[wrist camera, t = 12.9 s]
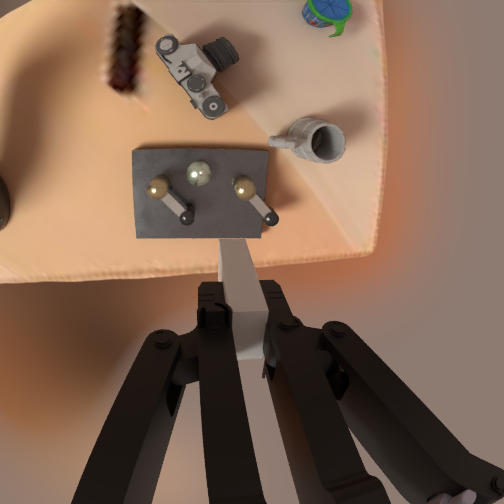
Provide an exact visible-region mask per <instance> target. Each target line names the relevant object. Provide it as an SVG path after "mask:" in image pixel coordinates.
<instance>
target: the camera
mask: <svg viewBox="0 0 504 504" xmlns="http://www.w3.org/2000/svg"><path fill="white" fill-rule="evenodd" d="M155 50H156V53H157V55H158V56H159V57H160V59H161V60H162V61H163V62H164V64H165V65H166V66H167V68H168V69H169V72H170V74H171V75H172V76H173V77H174V79H175V80H176V81H177V83H178V84H179V85H181V86H182V87H183V88H184V90H185V91H186V92H187V94H188V95H189V96H190V98H191V99H192V100H190V102H191V104H192V105H193V106H194V108H195V109H196V108H197V107H198V109H199V110H200V111H201V113H202V114H203V115H204V117H205V118H207V119H210V120H214V119H216V118H218V117H219V116H221V115H222V114H224V113H226V112H227V111H228V106H227V105H228V104H227V105H226V103H225V102H224V101H223V99H222V98H221V97H220V95H219V93H218V91H216V90H215V88H214V87H213V86H214V85H213V84H212V82H213V80H214V79H215V76H216V74H217V73H216V72H217V71H219V72H223V71H224V70H225V69H226V68H228V67H229V66H230V65H232V64H235V63H236V62H238V61H239V56H238V54H237V52H236V50H235V49H234V47H233V46H232V45H231V43H230V42H229V41H228V40H227V39H226V38H224V37H221V38H219V39H216V41H214V42H213V43H209V44H208V45H204V46H203V50H201V49H200V47H199V46H198V45H197V44H196V43H195V44H187V45H181V44H180V43H179V41H178V40H177V39H176V38H175V37H174V35H173V34H167V35H166V36H164V37H162V38H160V39H159V40H158V41H157V42H156V44H155Z"/></svg>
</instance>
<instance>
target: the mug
mask: <svg viewBox="0 0 504 504" xmlns="http://www.w3.org/2000/svg"><path fill="white" fill-rule="evenodd" d="M317 129H319V130H320V131H319V133H318V136H317V139H316V142H315V144H314V147H313V150H312V146H311V139H312V136H313V133H314V132H315V131H316V130H317ZM320 142H321V143H320ZM319 143H320V145H319V147H318V148H317V149H316V150H315V148H316V147H317V146H318V144H319ZM268 144H269V145H270V146H271V147H279V148H289V149H291V150H292V152H293V153H294V154H295V155H296V156H298V157H300V158H303V159H307V160H309V161H313V162H317V163H332V162H335V161H337V160H338V159H340V158H341V157H342V155H343V154H344V151H345V144H346V138H345V135H344V133H343V131H342V130H341V129H340V128H339V127H338V126H337V125H335V124H332V123H330V122H328V121H325V120H318V119H315V118H310V117H306V118H301V119H299V120H297V121H296V122H295V123H293V125H292V126H291V128H290V129H289V131H288V136H270V137H269V138H268ZM314 150H315V151H314ZM313 151H314V152H313Z"/></svg>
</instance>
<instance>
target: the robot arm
mask: <svg viewBox="0 0 504 504" xmlns="http://www.w3.org/2000/svg"><path fill="white" fill-rule="evenodd" d="M9 210H10V204H9V196H8V192H7V189H6V186H5V184H4V182H3V180H2V178H1V177H0V231H1V230H2V229H3V228H4V227H5V225H6V223H7V221H8V217H9ZM263 353H264V356H265V362H264V368H263V373H262V378H265V374H266V377H267V381H268V385H269V389H270V393H271V397H272V401H273V405H274V409H275V413H276V417H277V421H278V424H279V428H280V432H281V436H282V440H283V444H284V447H285V451H286V455H287V459H288V462H289V466H290V470H291V474H292V477H293V481H294V485H295V488H296V492H297V495H298V499H299V503H300V504H391V502H390V500H389V498H388V495H387V493H386V490H385V488H384V486H383V484H382V483H381V481H380V480H379V479H378V478H377V477H375V476H371V475H369V474H368V473H367V471H366V469H365V467H364V465H363V462H362V460H361V457H360V455H359V453H358V450H357V448H356V445H355V443H354V440H353V438H352V436H351V433H350V431H349V429H350V430H351V431H352V433H353V434H354V435H355V437H356V438H357V439H358V441H359V442H360V443H361V444H362V446H363V447H364V448H365V450H366V451H367V452H368V454H369V455H370V456H371V457H372V459H373V460H374V461H375V463H376V464H377V465H378V466H379V468H380V469H381V470H382V471H383V473H384V474H385V475H386V476H387V478H388V479H389V480H390V481H391V483H392V484H393V485H394V486H395V488H396V489H397V490H398V491H399V493H400V494H401V495H402V496H403V497H404V498H405V499H406V500H407V501H408V502H409V503H410V504H493V503H495V502H496V501H498V500H499V499H502V498H503V497H504V470H503V469H501V468H499V467H497V466H495V465H492V464H490V463H488V462H486V461H484V460H482V459H480V458H478V457H476V456H474V455H472V454H470V453H469V452H468V450H466V448H465V447H464V446H463V445H462V444H461V443H460V442H459V441H458V440H457V438H456V437H455V436H454V435H453V434H452V433H451V432H450V431H449V430H448V429H447V428H446V427H445V426H444V424H443V423H442V422H441V421H440V420H439V419H438V418H437V417H436V416H435V415H434V414H433V413H432V412H431V411H430V410H429V409H428V408H427V406H426V405H425V404H424V403H423V402H422V401H421V400H420V399H419V398H418V397H417V396H416V395H415V394H414V393H413V392H412V391H411V390H410V389H409V387H408V386H407V385H406V384H405V383H404V382H403V381H402V380H401V379H400V378H399V377H398V376H397V375H396V374H395V373H394V372H393V371H392V370H391V369H390V368H389V367H388V366H387V365H386V364H385V363H384V362H383V361H382V359H381V358H379V356H378V355H377V354H376V353H375V352H374V351H373V350H372V349H371V348H370V347H369V346H367V344H366V343H365V342H364V341H363V340H362V339H361V338H360V337H359V336H358V335H357V334H356V333H355V332H354V331H353V330H352V329H351V328H350V327H349V326H348V325H346V324H344V323H342V322H339V321H329V322H327V323H325V324H324V325H323V327H322V329H317V328H311V327H306V326H304V325H303V323H302V322H301V321H300V319H298V318H297V317H295V316H293V315H292V312H291V310H290V308H289V306H288V303H287V301H286V298H285V296H284V294H283V291H282V289H281V287H280V285H279V284H277V283H276V282H275V281H274V280H259V279H258V277H257V273H256V271H255V267H254V264H253V261H252V258H251V255H250V252H249V249H248V246H247V243H246V240H245V239H219V266H218V282H202V283H201V285H200V286H199V287H198V310H197V326H196V328H195V329H194V330H193V331H191V332H189V333H186V334H183V335H179V336H178V335H177V334H176V333H175V332H173V331H170V330H163V329H161V330H157V331H154V332H152V333H150V334H149V335H148V337H147V338H146V340H145V342H144V343H143V345H142V347H141V349H140V351H139V353H138V355H137V357H136V359H135V361H134V363H133V365H132V367H131V369H130V371H129V373H128V375H127V377H126V379H125V381H124V383H123V385H122V387H121V389H120V391H119V393H118V395H117V397H116V400H115V401H114V404H113V406H112V408H111V410H110V412H109V414H108V416H107V419H106V421H105V423H104V425H103V428H102V430H101V432H100V434H99V437H98V439H97V441H96V443H95V446H94V448H93V450H92V453H91V455H90V457H89V459H88V462H87V464H86V467H85V469H84V472H83V474H82V476H81V479H80V481H79V484H78V487H77V489H76V492H75V494H74V497H73V500H72V502H71V504H151V503H152V500H153V496H154V493H155V489H156V485H157V482H158V478H159V475H160V471H161V468H162V464H163V461H164V457H165V454H166V450H167V447H168V444H169V440H170V437H171V433H172V430H173V427H174V423H175V420H176V417H177V413H178V410H179V407H180V404H181V400H182V397H183V394H184V391H185V387H186V384H189V383H193V382H196V381H199V385H200V405H201V421H202V435H203V447H204V458H205V469H206V478H207V488H208V496H209V504H267V503H266V501H265V499H264V495H263V491H262V486H261V481H260V477H259V473H258V467H257V462H256V458H255V453H254V448H253V443H252V438H251V433H250V427H249V422H248V417H247V412H246V406H245V401H244V396H243V390H242V384H241V379H240V373H239V367H238V361H237V360H245V359H260V358H262V354H263ZM348 428H349V429H348Z"/></svg>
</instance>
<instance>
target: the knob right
mask: <svg viewBox="0 0 504 504" xmlns="http://www.w3.org/2000/svg"><path fill="white" fill-rule="evenodd" d="M234 189H235V191H236V194H237V196H238V197H239V198H240V199H241V200H244V201H248V200H249V201H250V203H251V204H252V205H253V206H254V207H255V208H256V209H257V210H258V212H259V213H260V214H261V216H262V217H263V219H264V221H265V223H266V224H267V225H268V226H275V225H276V224H277V223H278V221H279V217H278V215H277V214H276V212H275V211H274V210H273V208H271V207H268V206H267V205H266V204H265V203H264V202H263V201H262V199H261V198H260V197H259V196H258V195H257V194H256V186H255V185H254V183H253V182H252V181H251V179H250V178H249V177H247V176H240V177H238V178H237V179H236V180H235V182H234Z"/></svg>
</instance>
